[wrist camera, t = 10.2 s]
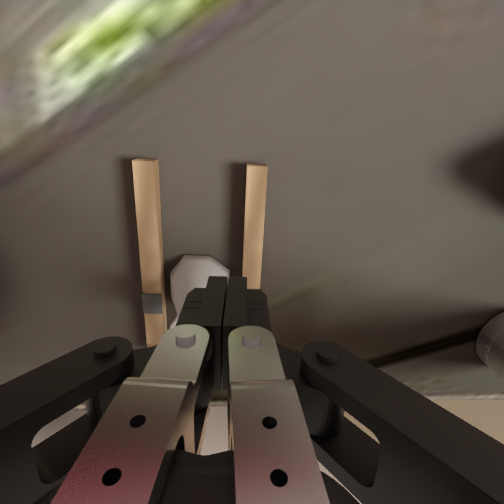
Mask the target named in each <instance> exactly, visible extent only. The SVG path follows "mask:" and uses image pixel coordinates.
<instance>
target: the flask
mask: <svg viewBox="0 0 504 504" xmlns="http://www.w3.org/2000/svg"><path fill="white" fill-rule="evenodd" d="M209 276H227V277H228V279H229V276H230V270H229V269H227V268H226V267H225V266H223V265H222V264H220V263H219V262H218V261H216V260H215V259H214V258H212V257H211V256H200V255H184V256H183V257H182V259H181V260H180V261H179V262H178V263H177V265H176V266H175V267H174V268H173V270H172V271H171V272H170V289H171V297H172V300H173V302H174V305H175V308H176V311H177V317H176V319H175V320H174V321H173V322H172V324H171V325H170V329H171V328H173V327H175V326H176V323H177V320H178V318H179V315H180V312H181V309H182V307H183V304H184V302H185V298H186V296H187V294H188V293H189V292H190V291H191V290H193V289H194V288H206V285H207V281H208V278H209Z"/></svg>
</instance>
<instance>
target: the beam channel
mask: <svg viewBox="0 0 504 504" xmlns="http://www.w3.org/2000/svg"><path fill="white" fill-rule="evenodd" d="M132 168H133V180H134V192H135V205H136V217H137V229H138V242H139V254H140V266H141V278H142V291H143V293H142V307H143V313H144V315H145V327H146V340H147V347H152V346H155V345H158V343H159V341H160V339H161V337H162V336H163V334H164V333H165V332H166V331H167V317H166V298H165V279H164V260H163V242H162V223H161V204H160V185H159V166H158V159H140V158H138V159H134V160H132ZM267 170H268V166H267V165H266V164H247V170H246V194H245V218H244V242H243V266H242V277H247V289H260V278H261V263H262V247H263V232H264V217H265V201H266V186H267Z"/></svg>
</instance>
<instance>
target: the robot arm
mask: <svg viewBox="0 0 504 504" xmlns="http://www.w3.org/2000/svg"><path fill="white" fill-rule="evenodd" d="M476 351H477V354H478V356H479V357H480V359H481V360H482V361H483V362H484V363H485V364H486V365H487V366H488V367H489V368H491V369H492V370H493V371H494V372H495V373H496V374H497V375H498V376H499V377H500V378H501V379H502V380H503V381H504V312H502V313H500V314H498V315H496V316H495V317H494V318H492V319H491V320H490V321H489V322H488V323H487V324H486V325H485V326H484V327H483V328H482V330H481V331H480V333H479V335H478V337H477V341H476ZM222 369H223V389H228V394H227V397H228V398H227V420H228V451H225V452H221V453H216V454H212V455H207V456H202V455H200V453H201V449H202V444H203V440H204V435H205V431H206V426H207V422H208V417H209V413H210V401H211V399H212V393H213V389H221V379H222ZM84 401H85V404H86V410H87V413H86V414H85V415H83V416H82V417H80V418H78V419H77V420H75V421H74V422H72V423H70V424H69V425H67V426H66V427H64V428H63V429H61V430H60V431H58V432H56V433H55V434H53V435H52V436H50V437H49V438H47V439H45V440H44V441H43V442H41V443H39V444H38V445H36V446H34V447H33V448H31V443H32V440H33V438H34V436H35V435H36V434H37V432H38V431H39V430H40V429H41V428H42V427H44V426H45V425H46V424H48V423H50V422H51V421H53V420H55V419H56V418H58V417H60V416H61V415H63V414H65V413H66V412H68V411H70V410H71V409H73V408H74V407H76V406H78V405H79V404H81V403H83V402H84ZM344 411H346V412H347V413H349V414H350V415H351V416H353V417H354V418H355V419H357V420H358V421H359V422H360V423H362V424H363V425H364V426H366V427H367V428H368V429H369V430H371V431H372V432H373V433H374V434H375V436H376V437H377V439H378V440H379V442H380V444H379V443H377V442H376V441H375V440H374V439H372V438H371V437H370V436H368V435H367V434H366V433H365V432H363V431H362V430H361V429H360V428H358V427H357V426H356V425H354V424H353V423H352V422H351V421H349V420H348V419H347V418H346V417H344ZM317 460H318V461H319V462H320V463H321V464H322V465H323V466H324V467H325V468H326V469H327V470H328V471H329V472H330V473H331V474H332V475H333V476H335V477H336V478H337V479H338V480H339V481H340V482H341V483H342V484H343V485H344V486H345V487H346V488H347V489H348V490H349V491H350V492H351V493H352V494H353V495H354V496H355V497H356V498H357V499H358V500H359V501H360V502H361V503H362V504H504V445H503V444H502V443H500V442H499V441H497V440H495V439H494V438H492V437H490V436H489V435H487V434H485V433H483V432H482V431H480V430H479V429H477V428H475V427H474V426H472V425H470V424H469V423H467V422H465V421H464V420H462V419H460V418H459V417H457V416H455V415H454V414H452V413H450V412H449V411H447V410H445V409H444V408H442V407H441V406H439V405H437V404H435V403H434V402H432V401H431V400H429V399H427V398H426V397H424V396H422V395H421V394H419V393H417V392H416V391H414V390H412V389H411V388H409V387H407V386H406V385H404V384H402V383H401V382H399V381H397V380H396V379H394V378H392V377H391V376H389V375H388V374H386V373H384V372H383V371H381V370H379V369H378V368H376V367H374V366H373V365H371V364H369V363H368V362H366V361H364V360H363V359H361V358H359V357H358V356H356V355H354V354H353V353H351V352H349V351H348V350H346V349H344V348H343V347H341V346H339V345H337V344H334V343H331V342H325V341H316V342H312V343H309V344H307V345H306V346H305V347H304V348H303V350H302V352H299V351H294V350H291V349H287V348H285V347H283V346H281V345H279V344H278V343H277V342H276V341H275V337H274V335H273V334H272V333H271V329H270V321H269V313H268V305H267V298H266V295H265V294H264V293H263V292H262V291H261V290H260V289H247V277H234V276H229V279H228V277H227V276H209V278H208V281H207V285H206V288H194V289H193V290H191V291H190V292H189V293H188V294H187V296H186V298H185V302H184V304H183V307H182V309H181V312H180V315H179V318H178V320H177V323H176V326H175V327H173V328H171V329H169V330H167V331H166V332H165V333H164V334H163V336H162V337H161V339H160V341H159V343H158V345H155V346H152V347H147V348H142V349H137V350H133V348H132V344H131V342H130V341H129V340H127V339H125V338H122V337H105V338H101V339H98V340H95V341H92V342H90V343H88V344H86V345H84V346H82V347H80V348H78V349H76V350H74V351H71V352H69V353H67V354H65V355H63V356H61V357H59V358H57V359H55V360H53V361H50V362H48V363H46V364H44V365H42V366H40V367H38V368H36V369H34V370H32V371H29V372H27V373H25V374H23V375H21V376H19V377H17V378H15V379H13V380H11V381H8V382H6V383H4V384H2V385H0V504H360V503H359V502H357V500H356V499H355V498H354V497H353V496H352V495H351V494H350V493H349V492H348V491H347V490H346V489H345V488H344V487H342V486H341V485H340V484H339V483H338V482H336V481H335V480H334V479H332V478H331V477H329V476H328V475H326V474H325V473H323V472H321V471H320V468H319V465H318V462H317Z"/></svg>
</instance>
